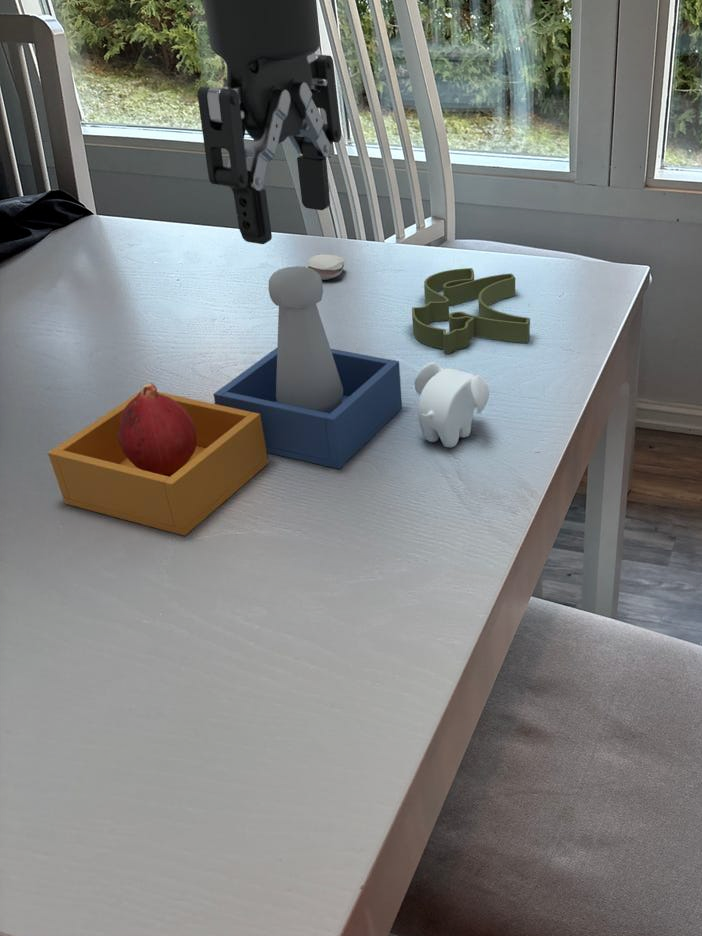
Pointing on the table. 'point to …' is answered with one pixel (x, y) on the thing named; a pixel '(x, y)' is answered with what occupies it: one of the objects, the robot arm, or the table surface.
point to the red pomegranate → (156, 432)
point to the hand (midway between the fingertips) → (288, 224)
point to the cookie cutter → (463, 325)
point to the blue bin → (314, 432)
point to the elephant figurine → (448, 402)
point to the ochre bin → (153, 495)
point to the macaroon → (326, 265)
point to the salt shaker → (303, 343)
